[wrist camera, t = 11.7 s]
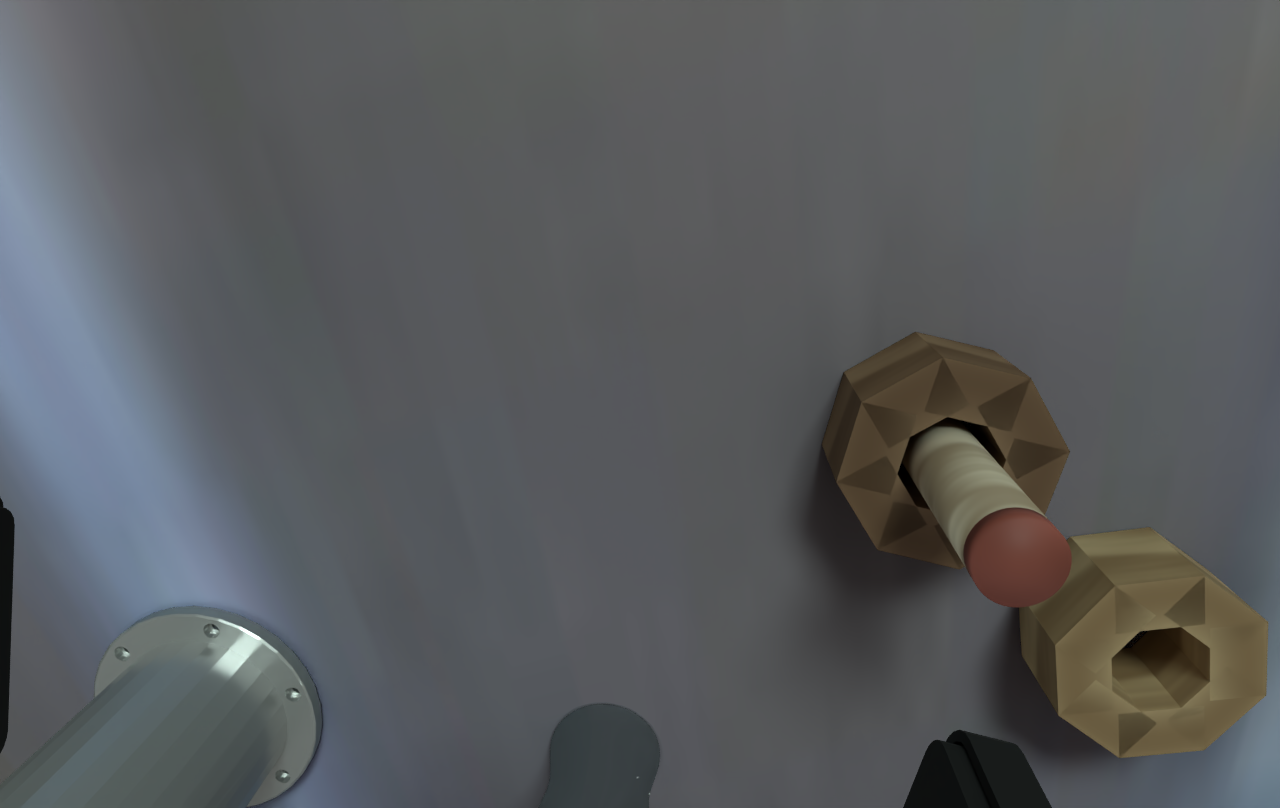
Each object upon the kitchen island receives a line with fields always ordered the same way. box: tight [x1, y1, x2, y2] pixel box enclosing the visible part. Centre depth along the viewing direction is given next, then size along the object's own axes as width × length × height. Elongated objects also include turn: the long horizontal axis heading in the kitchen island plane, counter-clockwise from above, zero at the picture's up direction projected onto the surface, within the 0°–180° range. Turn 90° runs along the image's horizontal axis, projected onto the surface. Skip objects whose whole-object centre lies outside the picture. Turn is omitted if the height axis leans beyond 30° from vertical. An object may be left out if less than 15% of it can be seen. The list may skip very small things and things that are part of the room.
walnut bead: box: [822, 332, 1070, 569], centre depth 40 cm, size 9×9×5 cm
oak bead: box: [1019, 527, 1268, 758], centre depth 42 cm, size 9×9×5 cm
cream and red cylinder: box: [902, 417, 1072, 607], centre depth 36 cm, size 3×3×14 cm
